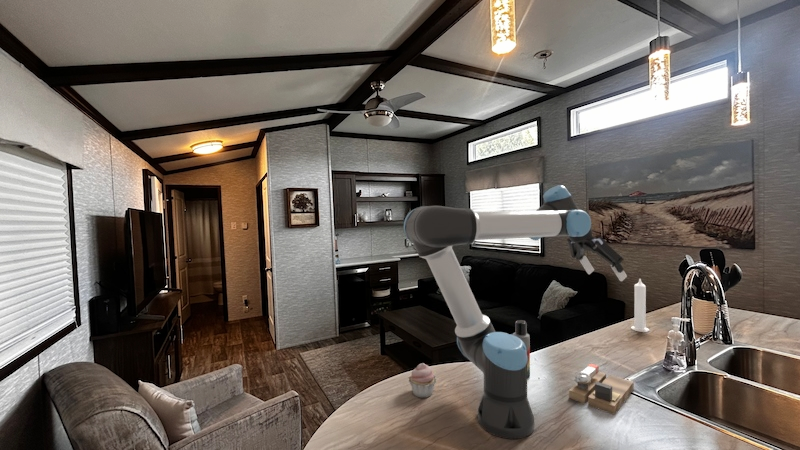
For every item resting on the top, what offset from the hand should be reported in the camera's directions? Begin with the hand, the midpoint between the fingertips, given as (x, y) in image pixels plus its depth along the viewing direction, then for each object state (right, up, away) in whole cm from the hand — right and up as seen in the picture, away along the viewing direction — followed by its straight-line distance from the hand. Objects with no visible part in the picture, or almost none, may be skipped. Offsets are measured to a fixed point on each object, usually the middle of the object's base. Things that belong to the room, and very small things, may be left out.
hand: (606, 275), depth 120 cm
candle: (+45, -34, +47) cm, 73 cm away
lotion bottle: (-29, -37, +3) cm, 47 cm away
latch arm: (-11, -32, -7) cm, 35 cm away
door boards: (-7, -36, -10) cm, 38 cm away
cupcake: (-64, -38, -7) cm, 75 cm away
